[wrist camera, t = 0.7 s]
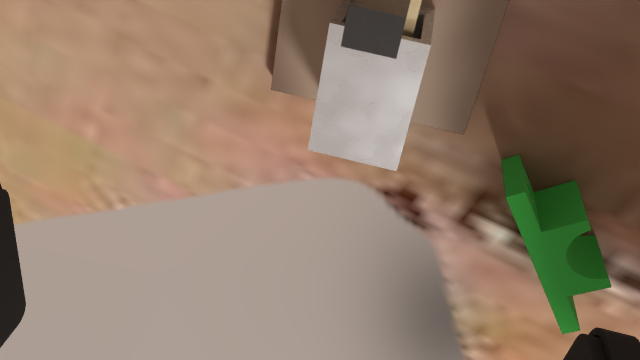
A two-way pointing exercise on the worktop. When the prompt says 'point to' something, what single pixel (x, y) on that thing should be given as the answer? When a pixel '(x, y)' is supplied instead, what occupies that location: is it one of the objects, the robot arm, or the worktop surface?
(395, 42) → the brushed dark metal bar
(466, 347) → the worktop surface
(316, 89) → the base board
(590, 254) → the pipe clamp
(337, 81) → the sleeve
